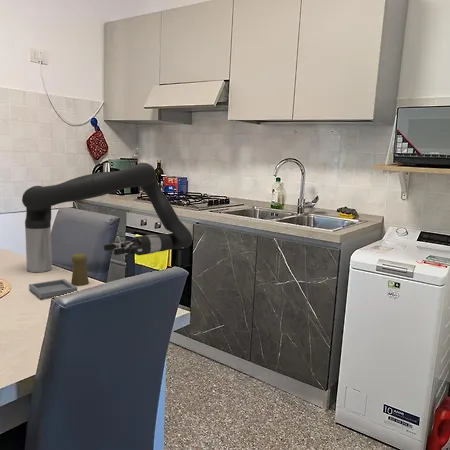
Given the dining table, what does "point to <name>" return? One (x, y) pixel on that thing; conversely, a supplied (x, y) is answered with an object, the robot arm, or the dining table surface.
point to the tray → (52, 288)
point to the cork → (79, 270)
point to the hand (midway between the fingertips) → (109, 250)
